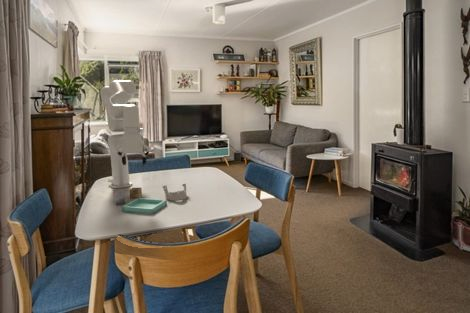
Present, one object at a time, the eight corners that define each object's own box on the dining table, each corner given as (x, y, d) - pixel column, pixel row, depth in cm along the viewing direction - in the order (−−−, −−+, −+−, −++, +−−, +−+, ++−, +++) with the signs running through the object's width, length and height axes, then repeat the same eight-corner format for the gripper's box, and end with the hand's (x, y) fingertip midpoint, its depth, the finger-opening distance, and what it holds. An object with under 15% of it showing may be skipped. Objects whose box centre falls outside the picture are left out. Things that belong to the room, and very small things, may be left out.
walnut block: (129, 199, 173) (129, 190, 173) (132, 196, 178) (132, 187, 177) (139, 199, 173) (138, 190, 172) (142, 196, 178) (141, 187, 177)
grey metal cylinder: (113, 204, 164) (112, 194, 163) (119, 202, 169) (118, 191, 168) (121, 205, 163) (120, 194, 162) (127, 202, 168) (126, 192, 167)
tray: (122, 211, 154) (121, 206, 154) (138, 202, 168) (138, 197, 167) (152, 214, 150) (152, 209, 150) (166, 204, 163) (166, 200, 163)
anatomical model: (167, 202, 164) (164, 182, 166) (164, 204, 174) (161, 186, 176) (192, 198, 169) (189, 179, 171) (188, 201, 179) (185, 183, 181)
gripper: (151, 129, 165) (153, 162, 168) (116, 130, 164) (119, 163, 167) (148, 131, 157) (150, 165, 160) (111, 131, 157) (114, 166, 160)
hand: (134, 164), depth 164 cm, fingers open, 9 cm apart
